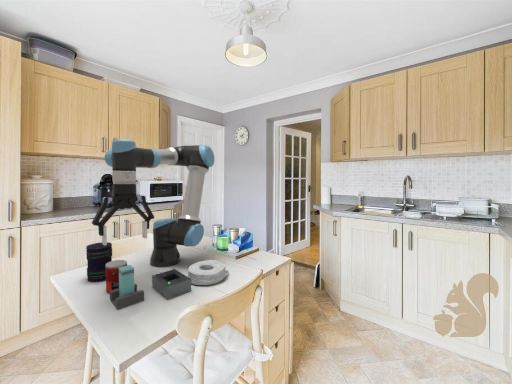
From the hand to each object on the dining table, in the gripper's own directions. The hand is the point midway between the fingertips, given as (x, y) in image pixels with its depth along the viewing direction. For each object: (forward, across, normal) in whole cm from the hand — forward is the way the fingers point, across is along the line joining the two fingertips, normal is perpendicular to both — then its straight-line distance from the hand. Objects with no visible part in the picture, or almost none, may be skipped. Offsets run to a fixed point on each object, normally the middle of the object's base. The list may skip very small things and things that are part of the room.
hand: (125, 241), depth 89 cm
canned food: (+23, 0, +12) cm, 26 cm away
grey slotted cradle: (+23, 0, 0) cm, 23 cm away
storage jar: (+23, -2, +29) cm, 37 cm away
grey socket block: (+22, +16, -3) cm, 28 cm away
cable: (+23, +33, -4) cm, 40 cm away
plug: (+22, 0, 0) cm, 22 cm away
